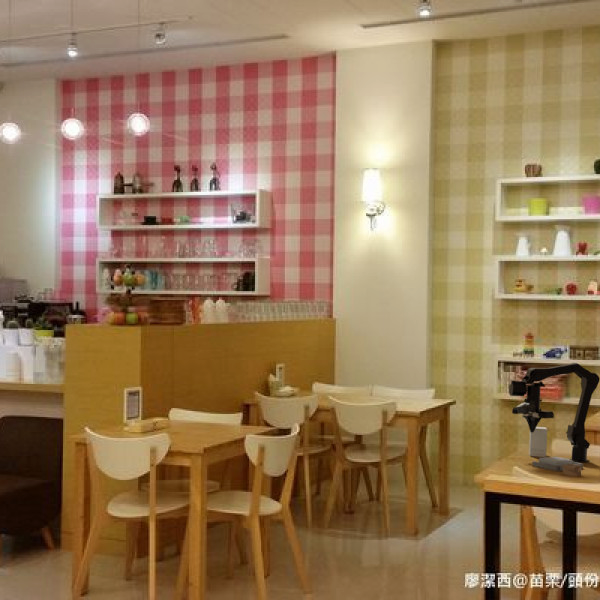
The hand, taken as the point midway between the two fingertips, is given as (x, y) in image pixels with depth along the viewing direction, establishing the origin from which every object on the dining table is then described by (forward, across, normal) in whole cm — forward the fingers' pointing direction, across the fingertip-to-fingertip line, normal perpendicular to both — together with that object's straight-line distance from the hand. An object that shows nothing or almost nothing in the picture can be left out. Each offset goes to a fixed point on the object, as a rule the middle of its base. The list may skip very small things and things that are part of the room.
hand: (532, 432), depth 398 cm
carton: (+12, +18, -7) cm, 23 cm away
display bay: (+12, +17, -5) cm, 22 cm away
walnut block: (+12, +32, -14) cm, 37 cm away
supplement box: (+12, -6, +12) cm, 18 cm away
